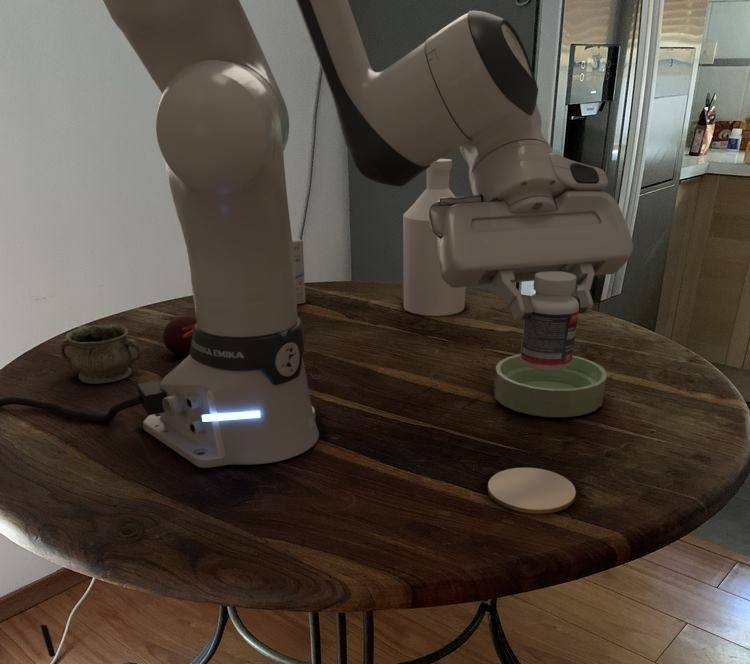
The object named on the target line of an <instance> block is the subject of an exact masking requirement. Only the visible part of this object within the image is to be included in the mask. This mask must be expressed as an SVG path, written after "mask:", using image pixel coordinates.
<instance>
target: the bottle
mask: <svg viewBox="0 0 750 664" xmlns="http://www.w3.org/2000/svg"><path fill="white" fill-rule="evenodd" d="M452 168H453V159H450V158H440V159H439V160H437V161H435V162H434V163H432V164H431V165H430V167H429V168H427V169H426V188H425V189H424V191H423V192H422V193H421V194H420V195H419V197H418V198H417V199H416V200H415V201H414V202H413V204H412V205H411V206H410V207H408V209H407V210H406V211H405V212H404V213H403V214H402V241H403V242H402V247H403V248H402V250H403V251H402V252H403V253H402V259H403V260H402V261H403V263H402V265H403V266H402V267H403V269H402V270H403V272H402V274H403V309H404V310H405V311H407V312H409V313H412V314H415V315H421V316H429V317H430V316H431V317H432V316H435V317H436V316H437V317H439V316H440V317H441V316H449V315H454V314H458V313H460V312H463V311H464V310H465V307H466V306H465V305H466V290H467V287H451V286H450V285H449V284H447V283H446V282H445V281H444V280H443V278H442V275H441V270H440V264H439V258H438V249H437V236H436V235H435V234H434V232H433V231H432V228H431V225H430V221H429V214H428V213H429V209H430V207H431V206H432V205H433V204H434V203H436V202H438V201H439V199H440V198H443V197H453V198H454V197H456V195H455V194H454V193H453V192H452V190H451V188H450V177H451V174H450V173H451V170H452Z"/></svg>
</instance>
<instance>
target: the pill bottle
mask: <svg viewBox="0 0 750 664" xmlns="http://www.w3.org/2000/svg"><path fill="white" fill-rule="evenodd" d="M576 286H577V285H576V276H575V275H574V274H571V273H567V272H561V271H543V272H538V273H536V274H535V277H534V281H533V285H532V287H533V290H534V291H535V293H534V294H532V295H529V296H530V297H531V300H532V302H531V304H532V305H533V307H534V312H533V314H532V315H531V316H530V318H529V319H523V329H522V338H521V348H520V353H519V354H520V360H521V362H522V364H524V365H525V366H527V367H530V368H533V369H537V370H546V371H555V370H562V369H565V368H567V367H569V366H570V365H571V362H572V356H574V349H575V348H574V347H575V340H576V334H577V333H576V332H577V326H578V318H579V314H578V312H579V303H578V301H577V300H576V299H575V298H574V297H572V296H573V294H574V293H575V292H576Z"/></svg>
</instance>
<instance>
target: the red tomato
mask: <svg viewBox="0 0 750 664" xmlns="http://www.w3.org/2000/svg"><path fill="white" fill-rule="evenodd" d="M196 323H197V320H196V316H195V317H194V316H188V315H185V316H178V317H175V318H173V319H172V320H170V321H169V322H168V323H167V324H166V325H165V327H164V329H163V333H162V337H163V344H164V346H165V348H167V350H168V351H170V352H171V353H173V354H175V355H177V356H179V357H185V358H186V357H187V356H189V355H190V347H191V341H192V336H189V337H186V338H184V337H183V335H185V334H186V333H188V332H190V331H192V329H187V330H182V328H184V327H188V326H191V325H194V324H196Z"/></svg>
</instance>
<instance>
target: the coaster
mask: <svg viewBox="0 0 750 664" xmlns="http://www.w3.org/2000/svg"><path fill="white" fill-rule="evenodd" d="M575 487H576V486H575V485H574V483H572V481H570V479H568V478H567V477H565V476H563V475H561V474H559V473H557V472H555V471H551V470H547V469H543V468H537V467H513V468H507V469H504V470H501V471H498V472H496V473H495V474H494V475H493V476H491V477H490V478H489V480H488V482H487V492H488V495H489V497H490V498H491V499H492V500H493V501H494V502H495V503H497V504H498V505H500V506H502V507H504V508H506V509H509V510H512V511H514V512H520V513H525V514H537V515H542V514H543V515H544V514H552V513H557V512H560V511H563V510H566V509H567V508H569V507H570V506H571V505H572V504H573V503H574V502H575V500H576V496H577V490H576V488H575Z"/></svg>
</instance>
